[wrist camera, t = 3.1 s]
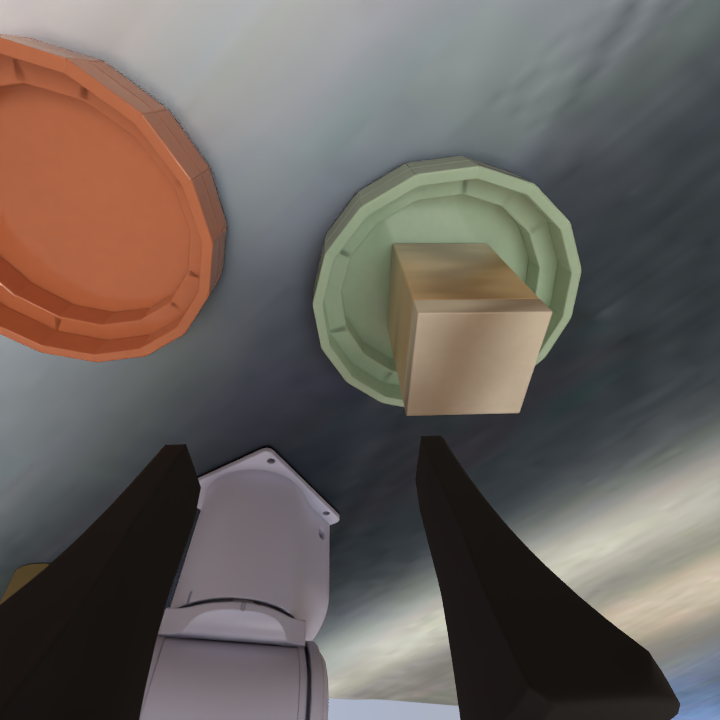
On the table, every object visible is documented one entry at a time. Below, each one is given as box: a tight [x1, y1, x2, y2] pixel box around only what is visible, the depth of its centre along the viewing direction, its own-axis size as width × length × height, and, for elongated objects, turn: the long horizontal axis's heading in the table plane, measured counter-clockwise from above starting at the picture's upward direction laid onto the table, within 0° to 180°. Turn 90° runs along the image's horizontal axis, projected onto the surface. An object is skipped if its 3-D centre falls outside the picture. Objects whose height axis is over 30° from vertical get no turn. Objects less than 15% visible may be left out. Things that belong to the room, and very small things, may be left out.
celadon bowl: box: [313, 156, 581, 407], centre depth 19 cm, size 12×12×3 cm
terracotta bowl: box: [0, 34, 227, 362], centre depth 17 cm, size 12×12×3 cm
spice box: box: [387, 243, 552, 416], centre depth 17 cm, size 5×5×7 cm
